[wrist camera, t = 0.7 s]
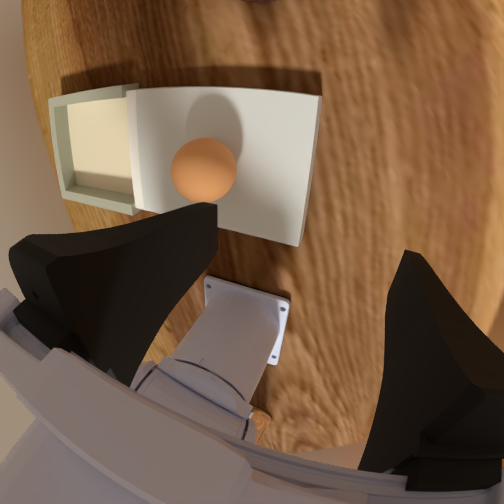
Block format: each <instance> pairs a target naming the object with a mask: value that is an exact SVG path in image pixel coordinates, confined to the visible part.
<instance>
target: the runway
mask: <svg viewBox="0 0 504 504" xmlns="http://www.w3.org/2000/svg"><path fill="white" fill-rule="evenodd" d="M126 98H127V122H128V138H129V151H130V163H131V173H132V182H133V191H134V199H135V206H136V208H139V209H143V210H147V211H152V212H156V213H160V214H162V213H165V212H168V211H171V210H175V209H178V208H181V207H184V206H187V205H191V204H195V203H196V202H193V201H190V200H188V199H186V198H185V197H183V196H182V195H181V194H180V193H179V192H178V191H177V189H176V188H175V186H174V184H173V182H172V178H171V164H172V161H173V158H174V156H175V154H176V153H177V151H178V150H179V149H180V148H181V147H182V146H183V145H185V144H186V143H188V142H190V141H192V140H195V139H198V138H210V139H214V140H217V141H219V142H221V143H223V144H224V145H225V146H227V147H228V148H229V150H230V151H231V152H232V154H233V156H234V158H235V161H236V166H237V174H236V179H235V182H234V184H233V186H232V188H231V189H230V190H229V192H228V193H227V194H226V195H225V196H223V197H222V198H220V199H218V200H216V201H214V202H210V203H212V204H217V205H218V227H219V228H223V229H227V230H232V231H236V232H240V233H244V234H248V235H252V236H256V237H260V238H264V239H268V240H272V241H276V242H280V243H284V244H288V245H292V246H296V247H298V246H299V244H300V242H301V240H302V238H303V234H304V227H305V221H306V215H307V209H308V202H309V196H310V189H311V182H312V175H313V168H314V161H315V154H316V146H317V138H318V130H319V122H320V113H321V104H322V96H320V95H313V94H307V93H299V92H291V91H282V90H272V89H260V88H245V87H222V86H181V87H158V88H143V89H135V90H129V91H126Z"/></svg>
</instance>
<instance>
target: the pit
mask: <svg viewBox="0 0 504 504" xmlns="http://www.w3.org/2000/svg"><path fill="white" fill-rule="evenodd" d="M135 89H139V83H134V84H125V85H117V86H110V87H103V88H97V89H91V90H86V91H80V92H75V93H70V94H66V95H61V96H57V97H54V98H50V99H48V102H49V115H50V125H51V134H52V142H53V149H54V156H55V162H56V168H57V174H58V179H59V184H60V189H61V194H62V198H64V199H68V200H72V201H76V202H80V203H84V204H88V205H92V206H97V207H101V208H105V209H109V210H113V211H117V212H121V213H125V214H129V215H134V214H136V213H137V212H139V211H140V210H142V209H139V208H136V206H135V199H134V191H133V182H132V173H131V163H130V151H129V138H128V122H127V98H126V91H129V90H135Z"/></svg>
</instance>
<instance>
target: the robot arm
mask: <svg viewBox="0 0 504 504" xmlns="http://www.w3.org/2000/svg"><path fill="white" fill-rule="evenodd" d="M217 250H218V205H217V204H212V203H207V202H199V203H195V204H191V205H187V206H184V207H181V208H178V209H175V210H171V211H168V212H165V213H162V214H159V215H156V216H152V217H149V218H146V219H143V220H139V221H136V222H132V223H128V224H124V225H120V226H115V227H111V228H105V229H99V230H93V231H87V232H78V233H67V234H32V235H28V236H26V237H25V238H23V239H22V240H20V241H19V242H18V243H16V244H15V245H14V246H12V247H11V248H10V250H9V261H10V265H11V268H12V270H13V273H14V275H15V278H16V280H17V282H18V284H19V286H20V288H21V291H22V293H23V295H24V297H25V298H26V299H25V300H24V301H23V302H21V303H20V302H19V300H18V299H17V298H16V297H15V296H14V295H13V294H12V293H11V292H10V291H8V290H7V289H6V288H3V289H2V290H1V291H0V374H1V376H2V377H3V378H4V379H5V381H6V382H7V383H8V384H9V385H10V386H11V388H12V389H13V390H14V391H15V392H16V393H17V398H18V399H19V400H20V401H21V402H22V403H23V404H24V406H25V407H26V408H27V409H28V410H29V411H30V412H31V413H32V414H33V415H34V416H35V417H36V419H35V420H34V421H33V423H32V424H31V426H29V428H28V429H27V430H26V431H25V433H24V434H23V435H22V437H21V438H20V439H19V440H18V442H17V443H16V444H15V446H14V447H13V448H12V449H11V451H10V452H9V453H8V455H7V456H6V457H5V459H4V460H3V461H2V463H1V464H0V504H504V467H503V468H502V459H504V353H503V352H502V351H501V350H500V349H499V348H498V347H497V346H496V345H495V344H494V343H493V342H492V341H491V340H490V339H489V338H488V337H487V336H486V335H485V334H484V333H483V332H482V331H481V330H480V329H479V328H478V327H477V326H476V325H475V323H474V322H473V321H472V320H471V319H470V318H469V317H468V315H467V314H466V313H465V312H464V311H463V310H462V308H461V307H460V306H459V304H458V303H457V302H456V301H455V299H454V298H453V297H452V295H451V294H450V293H449V291H448V290H447V289H446V287H445V286H444V285H443V283H442V282H441V280H440V279H439V278H438V276H437V275H436V273H435V272H434V271H433V269H432V268H431V266H430V265H429V264H428V262H427V261H426V260H425V259H424V257H423V256H422V255H421V254H420V253H416V252H413V251H409V250H405V251H404V254H403V256H402V259H401V262H400V264H399V267H398V269H397V272H396V275H395V277H394V280H393V282H392V284H391V287H390V289H389V292H388V296H387V304H386V312H385V350H384V370H383V379H382V384H381V390H380V395H379V400H378V404H377V408H376V412H375V416H374V420H373V424H372V428H371V431H370V434H369V438H368V441H367V444H366V447H365V450H364V453H363V456H362V458H361V461H360V464H359V467H358V469H357V470H355V469H349V468H343V467H339V466H334V465H329V464H324V463H320V462H316V461H311V460H307V459H303V458H299V457H296V456H292V455H288V454H285V453H281V452H278V451H275V450H272V449H268V448H265V447H262V446H259V445H256V444H255V443H256V439H257V429H256V424H255V421H254V420H253V419H250V418H248V417H249V414H250V412H251V410H252V408H253V406H252V405H250V404H249V402H250V400H251V398H252V396H253V394H254V392H255V389H256V387H257V385H258V383H259V381H260V378H261V376H262V374H263V372H264V370H265V367H266V365H267V363H269V364H272V365H277V363H278V361H279V356H280V352H281V347H282V342H283V338H284V333H285V328H286V323H287V318H288V313H289V308H290V301H289V300H288V299H286V298H283V297H279V296H276V295H272V294H269V293H265V292H262V291H259V290H255V289H252V288H248V287H245V286H242V285H238V284H235V283H232V282H228V281H225V280H222V279H219V278H215V277H212V276H206V277H205V279H204V291H205V306H206V308H205V309H204V310H203V312H202V313H201V314H200V316H199V317H198V319H197V320H196V321H195V323H194V324H193V325H192V327H191V328H190V330H189V331H188V332H187V334H186V335H185V336H184V338H183V339H182V341H181V342H180V343H179V345H178V346H177V347H176V349H175V350H174V352H173V353H172V354H171V356H170V357H168V356H165V357H164V358H163V359H162V361H161V362H160V364H159V365H158V364H156V363H155V362H154V361H148V362H145V363H141V362H142V360H143V358H144V356H145V354H146V352H147V350H148V348H149V347H150V345H151V343H152V341H153V340H154V338H155V336H156V334H157V333H158V331H159V329H160V328H161V326H162V324H163V323H164V321H165V320H166V318H167V317H168V315H169V313H170V312H171V311H172V309H173V308H174V307H175V305H176V304H177V303H178V302H179V300H180V299H181V298H182V297H183V296H184V294H185V293H186V292H187V291H188V290H189V288H190V287H191V286H192V285H193V284H194V282H195V281H196V280H197V279H198V278H199V276H200V275H201V274H202V273H203V271H204V270H205V269H206V268H207V266H208V265H209V263H210V261H211V260H212V258H213V256H214V255H215V253H216V251H217ZM209 285H210V286H209ZM282 307H284V308H285V309H284V308H282Z"/></svg>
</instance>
